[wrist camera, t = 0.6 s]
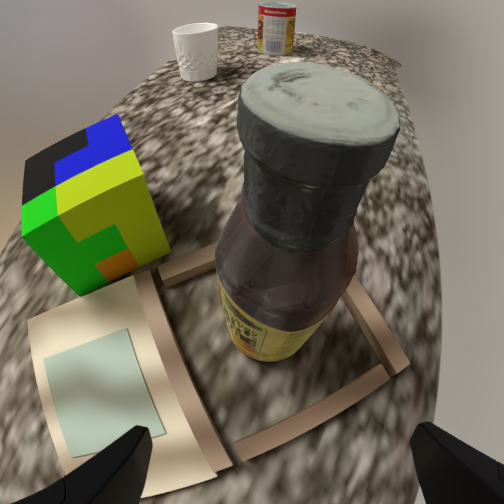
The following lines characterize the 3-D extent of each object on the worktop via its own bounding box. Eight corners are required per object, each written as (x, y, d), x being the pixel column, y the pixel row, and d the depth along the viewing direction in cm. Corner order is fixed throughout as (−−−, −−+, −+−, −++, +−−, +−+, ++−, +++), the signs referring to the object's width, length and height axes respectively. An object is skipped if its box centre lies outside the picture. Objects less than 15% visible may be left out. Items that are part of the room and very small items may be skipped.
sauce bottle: (222, 299, 25) (183, 50, 8) (295, 286, 25) (359, 47, 8) (236, 376, 21) (191, 184, 4) (315, 359, 22) (479, 163, 5)
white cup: (179, 69, 49) (174, 26, 40) (219, 65, 50) (218, 21, 41) (176, 85, 45) (169, 36, 36) (220, 81, 45) (218, 30, 37)
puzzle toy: (141, 186, 32) (118, 114, 23) (171, 252, 27) (143, 173, 19) (66, 223, 29) (25, 160, 20) (80, 296, 24) (21, 236, 16)
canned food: (290, 46, 57) (294, 3, 47) (294, 57, 53) (298, 8, 43) (257, 45, 57) (258, 1, 47) (257, 55, 53) (258, 6, 43)
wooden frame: (404, 371, 21) (413, 368, 20) (84, 505, 14) (76, 508, 13) (301, 214, 29) (304, 204, 28) (31, 323, 22) (23, 317, 21)
